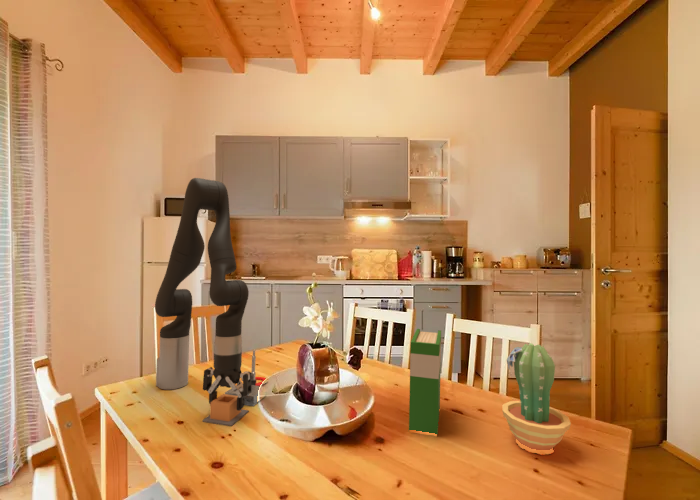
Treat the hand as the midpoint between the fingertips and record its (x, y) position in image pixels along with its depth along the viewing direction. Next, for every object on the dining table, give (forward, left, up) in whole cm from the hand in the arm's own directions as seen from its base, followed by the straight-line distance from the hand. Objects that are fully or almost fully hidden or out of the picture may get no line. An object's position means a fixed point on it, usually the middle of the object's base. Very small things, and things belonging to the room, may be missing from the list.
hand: (226, 407), depth 98 cm
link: (0, 0, -2) cm, 2 cm away
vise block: (-1, +11, -3) cm, 11 cm away
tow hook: (-5, +25, -3) cm, 26 cm away
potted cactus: (+82, +9, -3) cm, 83 cm away
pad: (0, 0, -3) cm, 3 cm away
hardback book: (+55, +15, -3) cm, 57 cm away
